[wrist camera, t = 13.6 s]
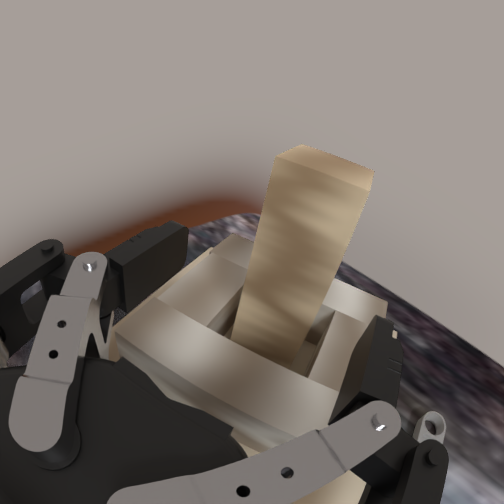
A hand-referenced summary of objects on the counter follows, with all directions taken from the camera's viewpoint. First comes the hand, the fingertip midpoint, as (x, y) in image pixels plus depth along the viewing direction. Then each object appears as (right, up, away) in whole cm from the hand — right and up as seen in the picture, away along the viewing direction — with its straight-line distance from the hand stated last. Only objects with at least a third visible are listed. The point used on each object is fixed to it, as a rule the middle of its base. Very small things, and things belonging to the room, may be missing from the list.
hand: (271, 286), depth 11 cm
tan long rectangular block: (0, -6, +9) cm, 11 cm away
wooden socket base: (0, -7, +10) cm, 12 cm away
